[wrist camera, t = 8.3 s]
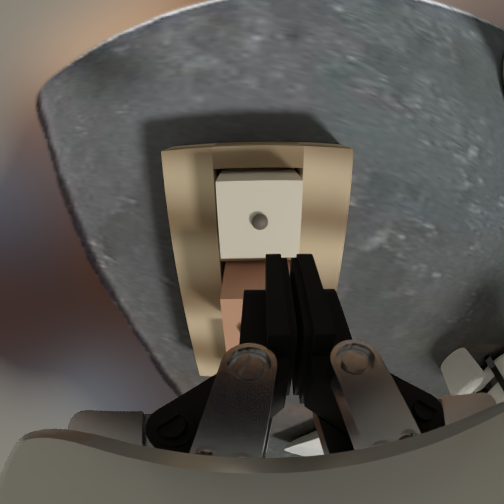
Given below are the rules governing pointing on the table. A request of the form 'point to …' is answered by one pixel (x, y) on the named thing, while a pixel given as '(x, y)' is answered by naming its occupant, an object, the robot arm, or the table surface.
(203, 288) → the wooden dice block tray
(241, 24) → the table surface
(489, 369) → the coffee press
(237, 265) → the tan dice block
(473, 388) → the shot glass
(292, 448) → the salad plate
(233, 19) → the table surface
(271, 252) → the white dice block
